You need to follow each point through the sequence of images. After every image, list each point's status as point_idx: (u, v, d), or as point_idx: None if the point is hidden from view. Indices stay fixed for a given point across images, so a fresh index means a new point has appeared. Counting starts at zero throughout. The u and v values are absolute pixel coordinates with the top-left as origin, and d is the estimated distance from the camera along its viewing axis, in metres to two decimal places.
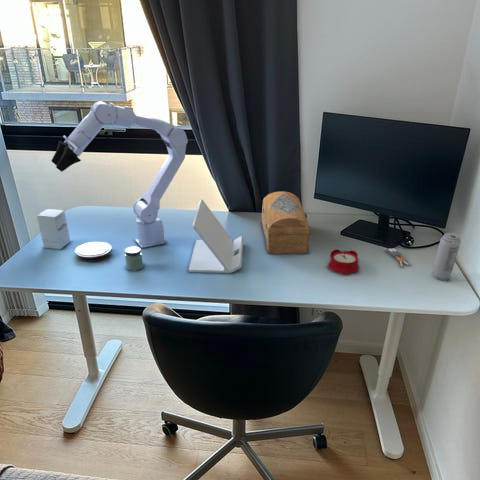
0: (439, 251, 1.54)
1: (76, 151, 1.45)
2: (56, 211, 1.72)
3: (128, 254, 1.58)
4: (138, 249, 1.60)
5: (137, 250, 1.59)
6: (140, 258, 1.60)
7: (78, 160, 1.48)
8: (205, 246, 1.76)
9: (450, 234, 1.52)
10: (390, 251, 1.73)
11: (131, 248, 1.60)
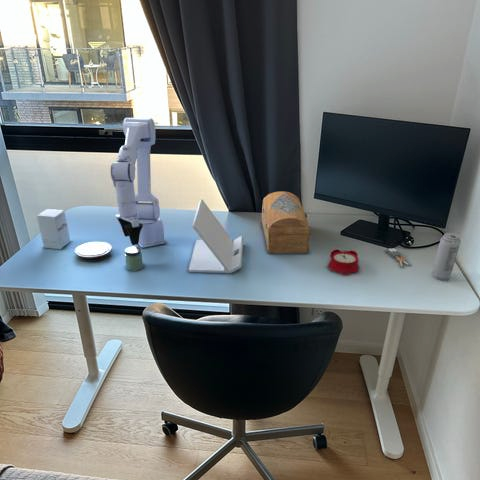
0: (439, 251, 1.54)
1: (134, 225, 1.48)
2: (56, 211, 1.72)
3: (128, 254, 1.58)
4: (138, 249, 1.60)
5: (137, 250, 1.59)
6: (140, 258, 1.60)
7: (141, 227, 1.51)
8: (205, 246, 1.76)
9: (450, 234, 1.52)
10: (390, 251, 1.73)
11: (131, 248, 1.60)
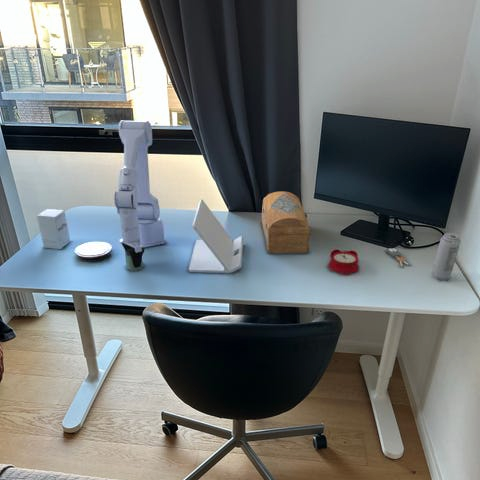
0: (439, 251, 1.54)
1: (137, 250, 1.53)
2: (56, 211, 1.72)
3: (128, 254, 1.58)
4: None
5: None
6: None
7: (143, 251, 1.56)
8: (205, 246, 1.76)
9: (450, 234, 1.52)
10: (390, 251, 1.73)
11: None
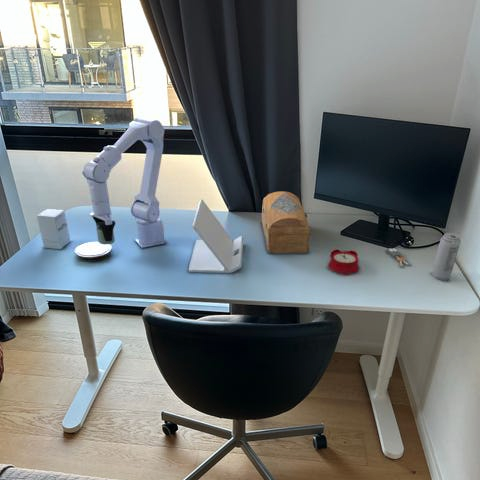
0: (439, 251, 1.54)
1: (107, 222, 1.53)
2: (56, 211, 1.72)
3: (99, 228, 1.59)
4: None
5: None
6: None
7: (113, 224, 1.57)
8: (205, 246, 1.76)
9: (450, 234, 1.52)
10: (390, 251, 1.73)
11: None
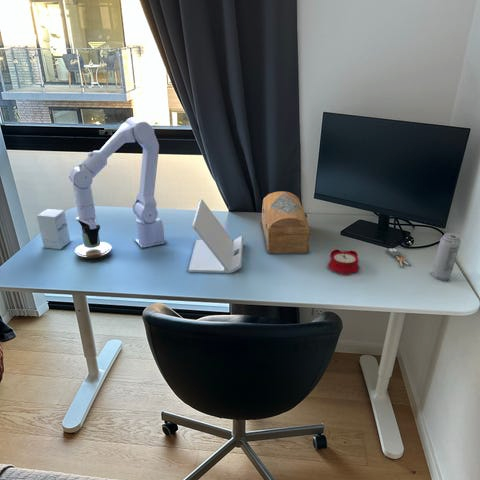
0: (439, 251, 1.54)
1: (91, 227, 1.58)
2: (56, 211, 1.72)
3: (84, 232, 1.63)
4: None
5: None
6: None
7: (98, 228, 1.61)
8: (205, 246, 1.76)
9: (450, 234, 1.52)
10: (390, 251, 1.73)
11: None
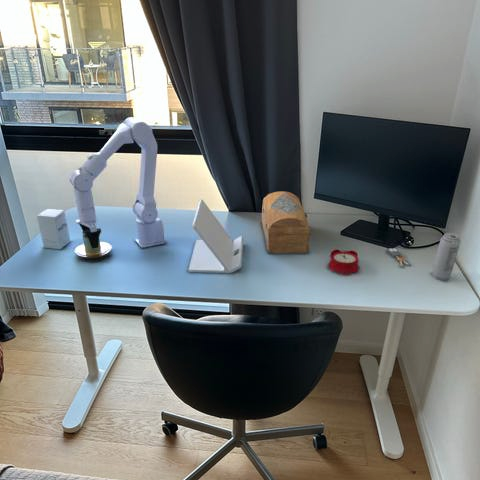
0: (439, 251, 1.54)
1: (92, 230, 1.59)
2: (56, 211, 1.72)
3: (85, 236, 1.64)
4: None
5: None
6: None
7: (99, 232, 1.62)
8: (205, 246, 1.76)
9: (450, 234, 1.52)
10: (390, 251, 1.73)
11: None
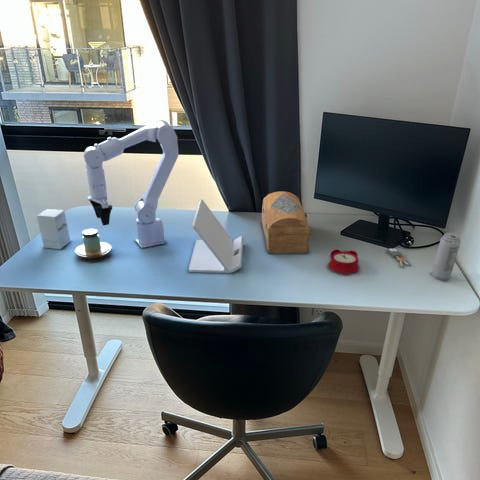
0: (439, 251, 1.54)
1: (103, 206, 1.61)
2: (56, 211, 1.72)
3: (85, 236, 1.64)
4: (95, 231, 1.66)
5: (94, 232, 1.65)
6: (97, 240, 1.66)
7: (110, 208, 1.63)
8: (205, 246, 1.76)
9: (450, 234, 1.52)
10: (391, 251, 1.73)
11: (88, 230, 1.67)
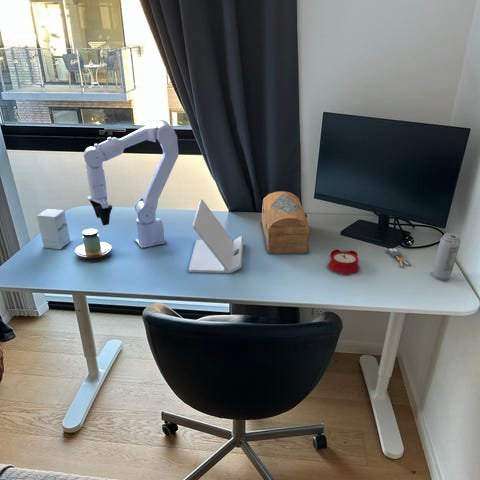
0: (439, 251, 1.54)
1: (103, 206, 1.61)
2: (56, 211, 1.72)
3: (85, 236, 1.64)
4: (95, 231, 1.66)
5: (94, 232, 1.65)
6: (97, 240, 1.66)
7: (110, 208, 1.63)
8: (205, 246, 1.76)
9: (450, 234, 1.52)
10: (391, 251, 1.73)
11: (88, 230, 1.67)
